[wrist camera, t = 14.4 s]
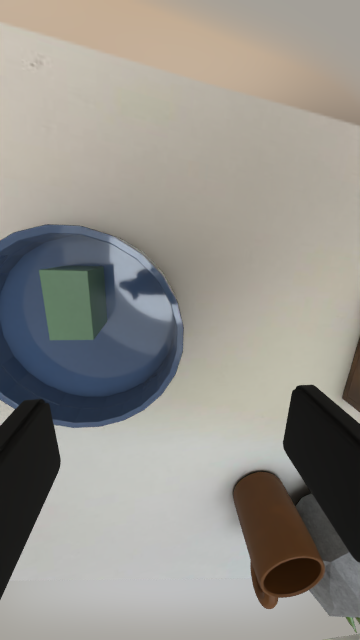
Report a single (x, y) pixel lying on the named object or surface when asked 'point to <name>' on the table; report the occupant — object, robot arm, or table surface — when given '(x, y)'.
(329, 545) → the potted plant
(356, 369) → the holder
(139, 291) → the blue round dish
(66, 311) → the packet green
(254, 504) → the mug
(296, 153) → the table surface
